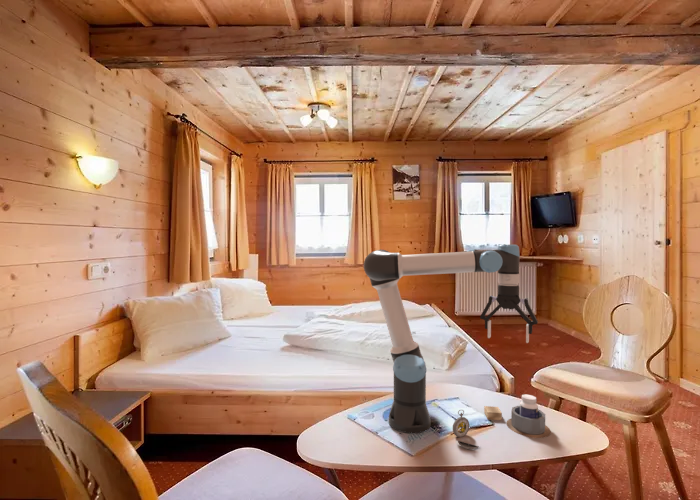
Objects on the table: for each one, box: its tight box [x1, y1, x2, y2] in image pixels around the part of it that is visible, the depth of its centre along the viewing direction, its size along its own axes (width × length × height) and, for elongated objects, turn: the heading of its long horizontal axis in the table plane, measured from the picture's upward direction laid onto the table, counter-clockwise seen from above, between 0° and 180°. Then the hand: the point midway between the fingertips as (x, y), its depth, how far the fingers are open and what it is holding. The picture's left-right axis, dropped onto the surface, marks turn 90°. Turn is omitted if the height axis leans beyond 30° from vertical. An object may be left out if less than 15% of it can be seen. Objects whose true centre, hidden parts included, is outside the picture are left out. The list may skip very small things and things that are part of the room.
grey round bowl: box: [510, 405, 546, 435], centre depth 127 cm, size 10×10×5 cm
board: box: [505, 418, 552, 439], centre depth 128 cm, size 14×14×1 cm
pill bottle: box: [519, 394, 539, 418], centre depth 127 cm, size 6×6×10 cm
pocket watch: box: [452, 409, 479, 450], centre depth 120 cm, size 8×8×10 cm
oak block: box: [483, 405, 503, 421], centre depth 135 cm, size 5×5×4 cm
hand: (507, 339), depth 140 cm, fingers open, 13 cm apart
